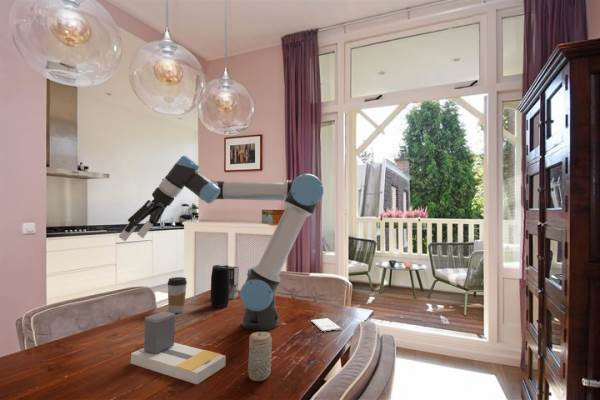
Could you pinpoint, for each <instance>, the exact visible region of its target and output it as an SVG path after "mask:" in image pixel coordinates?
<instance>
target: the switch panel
mask: <svg viewBox="0 0 600 400" xmlns="http://www.w3.org/2000/svg"><path fill="white" fill-rule="evenodd" d="M226 360H227V359H226V355H224V354H221V353H220V352H215V351H210V350H206V349H200V348H197V347H193V346H190V345H185V344H181V343H179V342H178V343H177V342H174V346H172V347H170V348H167V349H165V350H163V351H161V352H159V353H157V354H154V353H151V352H147V351H144V347H143V348H140V349H138V350H136V351H133V352H131V353H130V364H131V365H134V366H138V367H140V368H141V367H142V368H143V369H147V370H150V371H154V372H156V373H160V374H162V375H166V376H169V377H172V378H176V379H179V380H181V381H182V380H183V381H185V382H188V383H191V384H194V385H199V384H200V383H202V382H203V381H205V380H206V379H207V378H209V377H210V376H212V375H214V374H216V373H217V372H219V371H220V370H221V369H223V368H224V367H226Z"/></svg>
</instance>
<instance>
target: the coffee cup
mask: <svg viewBox="0 0 600 400" xmlns="http://www.w3.org/2000/svg"><path fill="white" fill-rule="evenodd" d="M187 284H188V281H187V278H186V277H183V276H177V277H170V278H169V279H168V281H167V296H168V297H167V298H168V299H167V303H168V312H170V313H178V314H181V312H182V313H183V312H184V311H185V302H186V291H187Z"/></svg>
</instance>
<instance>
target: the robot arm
mask: <svg viewBox="0 0 600 400" xmlns="http://www.w3.org/2000/svg"><path fill="white" fill-rule="evenodd" d="M199 168H200V165H199V164H198V163H197V162H195V161H194V160H193V159H191V158H190V157H189V156H187V155H182V156H180V158H179V159H178V160H177V161H176V162H175V164H173V166H172V168H171V169H170V170H169V171H168V173H167V175H166V176H165V177H164V178H161V182H160V183H159V184H158V187H156V188H155V189H154V191H152V194H151V196H152V197H153V199H152V200H150V199H148V200H147V201H146V202H145V203H144V204H143V205H142V206H141V207H140V208H138V210H136V212H135V213H134V214H133V215H131V216H130V217H129V218H128V219H127V221H128V223H127V224H126V226H125V227H124V228H123V230H122V231H121V232H120V233H119V235H118V238H119V239H120V240H122V241H123V242H126V241H127V240H128V238H130V236H131V235H132V234H133V232H134V231H135V229H136V228H137V227H138V225H139V223H141V222H142V221H144V220H145V219H146V218H148V216H149V219H148V220H147V221H145V223H144V224H143V226H142V227H141V228H140V230H139V231H138V232H137V233H136V234H137V236H139V237H140V238H142V239H144V237H145V236H146V235H147V233H148V232H149V231H150V230H151V228H153V226H157V225H158V223H159V222H160V220H161V217H162V216H163V214H164V211H165V210H166V208H167V207H169V206H170V205H171V204H172V203H173V201H174V200H175V198H177V197H178V195H179V194H180V193H181V192H182V190H183V189H184V187H185V188H187V190H189V191H191V192H192V193H193V194H195V196H197V197H198V198H199V199H200V200H202V201H203V202H206V204H212V203H213V202H214V201H215V200H236V201H237V200H239V201H240V200H242V201H245V200H247V201H284V204H285V208H284V211H283V213H282V214H281V217H280V220H279V222H278V223H277V226H276V227H275V229H274V231H273V234H272V236H271V238H270V240H269V242H268V244H267V247H266V248H265V250H264V253H263V255H262V257H261V259H260V260H259V263H258V264H256V265H253V266H252V267H251V268H248V269H247V274H246V276H247V278H246V280H245V282H244V283H243V284H242V286H241V288H240V295H239V296H240V301H241V303H242V304H243V306H244V307H245V310H244V312H243V316H242V319H241V325H242V327H243V328H245V329H247V330H253V331H267V330H271V329H274V328H277V327H278V326H279V323H280V318H279V313H278V311H277V308H276V291H277V289H278V287H279V285H280V283H281V277H280V273H281V271H282V269H283V267H284V265H285V263H286V260H287V259H288V257H289V254H290V253H291V250H292V248H293V246H294V244H295V242H296V240H297V237H298V236H299V234H300V231H301V230H302V227H303V225H304V223H305V221H306V219H307V218H309V217H310V216H313V214H314V212H315V209H316V207H317V205H318V204H319V201H321V199H322V198H323V196H324V185H323V183H322V181H321V180H320V178H319V177H317V176H316V175H314V174H311V173H303V174H300V175H298V176H297V177H295V178H294V179H292V180H291V179H290V180H289V179H287V180H285V182H272V181H271V182H268V181H267V182H266V181H264V182H263V181H222V180H220V181H219V180H217V181H216V180H212V179H209V178H208V177H206V176H205V175H204V174H202V173H201V172H199Z"/></svg>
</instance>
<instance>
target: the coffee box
mask: <svg viewBox="0 0 600 400" xmlns="http://www.w3.org/2000/svg"><path fill="white" fill-rule="evenodd" d="M228 266H229V265H228ZM239 268H240V267H239V266H229V276H230V283H229V299H231V300H232V299H233V300H235V299H236V298H237V297H239Z"/></svg>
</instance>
